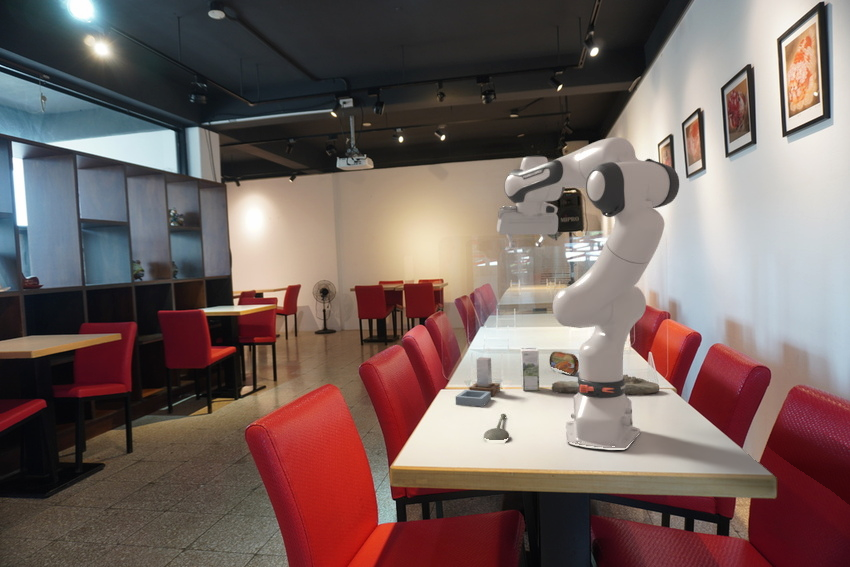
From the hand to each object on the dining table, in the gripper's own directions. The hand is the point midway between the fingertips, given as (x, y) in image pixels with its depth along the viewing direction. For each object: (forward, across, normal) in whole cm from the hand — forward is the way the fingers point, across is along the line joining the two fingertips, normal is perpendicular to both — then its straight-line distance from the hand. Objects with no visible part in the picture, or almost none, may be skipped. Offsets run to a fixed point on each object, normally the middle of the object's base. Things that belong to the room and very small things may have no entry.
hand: (525, 247), depth 174 cm
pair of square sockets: (+49, -16, -13) cm, 53 cm away
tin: (+56, +26, +10) cm, 62 cm away
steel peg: (+51, -12, -8) cm, 53 cm away
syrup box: (+50, +4, -8) cm, 51 cm away
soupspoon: (+40, -19, -45) cm, 63 cm away
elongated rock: (+47, +27, -18) cm, 57 cm away
